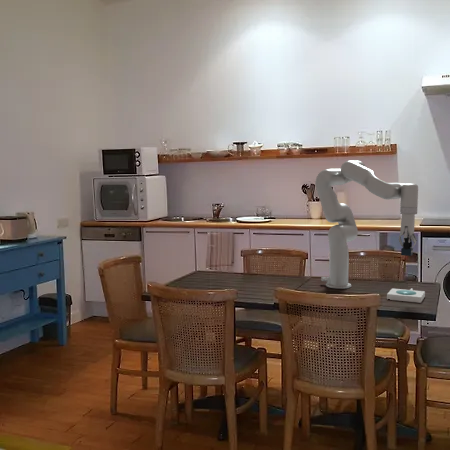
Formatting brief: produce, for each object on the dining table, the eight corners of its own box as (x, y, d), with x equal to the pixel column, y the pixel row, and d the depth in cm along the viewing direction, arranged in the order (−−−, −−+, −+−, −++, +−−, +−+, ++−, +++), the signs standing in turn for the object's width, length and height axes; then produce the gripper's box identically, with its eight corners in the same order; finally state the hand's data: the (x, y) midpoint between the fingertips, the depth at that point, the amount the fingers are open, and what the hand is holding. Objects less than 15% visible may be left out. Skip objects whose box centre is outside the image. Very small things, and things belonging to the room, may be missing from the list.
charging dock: (386, 299, 267) (387, 293, 267) (396, 288, 288) (396, 283, 288) (420, 302, 260) (421, 296, 260) (427, 291, 282) (428, 286, 281)
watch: (415, 256, 263) (416, 232, 262) (397, 254, 267) (398, 231, 266) (417, 254, 268) (418, 231, 267) (399, 253, 272) (400, 230, 271)
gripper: (403, 209, 274) (402, 247, 276) (397, 211, 259) (395, 252, 261) (419, 209, 271) (418, 248, 273) (414, 212, 256) (413, 253, 258)
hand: (407, 250), depth 267 cm, fingers closed on watch, 3 cm apart
